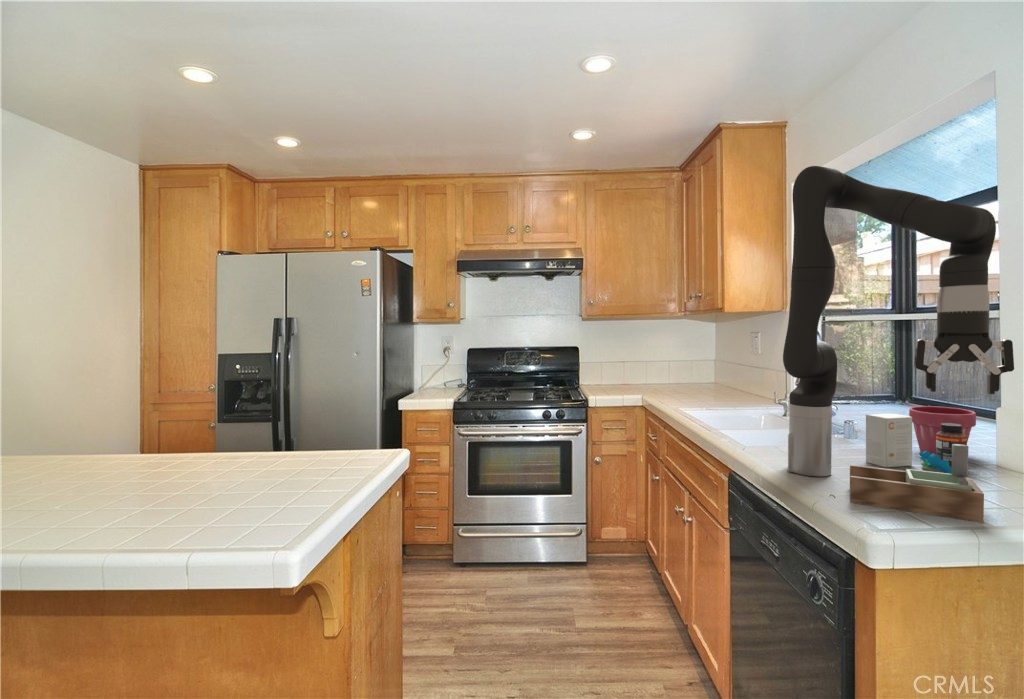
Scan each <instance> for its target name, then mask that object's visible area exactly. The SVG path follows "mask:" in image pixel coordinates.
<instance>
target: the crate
mask: <svg viewBox="0 0 1024 699" xmlns="http://www.w3.org/2000/svg"><path fill="white" fill-rule="evenodd" d="M905 471H906V483H913V484H921V485H929V486H937V487H945V488H953V489H961V490H969V491H972V485H971V484H970V483H969V481H968V480H967V479H966V478H969V445H968V444H967V445H961V444H952V474H948V473H939V472H930V471H922V469H921V470H919V469H912V468H911V469H910V468H905ZM965 477H966V478H965Z"/></svg>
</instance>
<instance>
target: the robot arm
mask: <svg viewBox="0 0 1024 699" xmlns="http://www.w3.org/2000/svg"><path fill="white" fill-rule="evenodd" d="M792 186H793V187H792V212H793V246H792V248H793V250H792V252H793V253H792V263H791V273H790V274H791V275H790V276H791V277H790V299H789V310H788V312H789V313H788V323H787V329H786V334H785V340H784V345H783V351H782V352H783V353H782V362H783V367H784V369H785V371H786V372H787V374H789V375H790V376H791V377H793V378H796V379H799V382H798V384H797V386H796V387H795V388H794V389H793V390H792V391H791V392H789V397H788V398H789V401H788V403H789V404H788V409H789V410H788V414H789V415H788V418H789V420H788V422H789V423H788V430H789V431H788V435H787V472H790V473H795V474H799V475H801V476H808V477H828V476H831V475H832V468H833V467H832V466H833V465H832V452H833V449H832V448H833V446H832V442H833V441H832V438H833V437H832V434H833V433H832V432H833V431H832V430H833V427H832V426H833V418H832V417H833V415H832V414H833V408H832V407H833V406H832V405H833V399H834V397H835V395H836V390H837V381H838V380H837V377H838V358H837V353H836V351H835V349H834V347H833V346H832V345H831V344H829V343H828V342H827V341H822V340H818V328H819V323H820V319H821V316H822V314H823V312H824V310H825V308H826V306H827V304H828V303H829V300H830V299H831V296H832V294H833V291H834V288H835V282H836V281H835V279H836V256H835V253H834V250H833V247H832V243H831V241H830V237H829V236H828V233H827V229H826V223H825V222H826V221H825V220H826V218H825V217H826V208H828V209H829V208H830V209H839V210H840V209H841V210H848V211H853V212H858V213H860V214H864V215H865V216H866V215H867V217H870V218H872V219H875V220H877V221H880V222H882V223H885V224H889V225H891V226H895V227H899V228H903V229H906V230H909V231H915V232H918V233H920V234H922V235H925V236H928V237H930V238H933V239H935V240H939V241H943V242H946V243H950V244H949V246H950V247H949V251H948V256H947V258H945V259H943V260H942V261H941V263H940V266H939V276H938V277H939V280H938V281H939V282H938V284H939V285H938V295H937V301H936V302H937V304H936V308H935V309H936V311H937V312H936V338H935V339H934V340H923V339H917V340H916V342H915V350H914V352H915V355H914V364H913V367H914V368H916V369H917V370H919V371H923V372H924V373H925V387H926V388H927V389H929V392H933V393H934V392H936V391H937V390H936V388H937V386H936V383H937V373H936V370H938V369H939V367H941V366H942V365H943V364H945V363H946V362H947V361H950V362H952V363H953V362H954V363H955V362H956V363H957V362H968V363H974V362H976V361H977V362H978V363H979V364H980V365H982V366H983V368H985V369H986V370H987V371H988V373H987V376H986V378H987V379H986V381H987V382H986V392H987V395H995V393H996V392H999V391H1000V382H1001V380H1000V379H1001V378H1000V377H1001V375H1002V374H1004V373H1008V372H1011V373H1012V372H1013V371H1014V370H1015V362H1014V361H1015V360H1014V347H1013V346H1014V343H1013V341H1012V340H1011V339H1006V338H1005V339H1001V340H991V338H990V335H989V334H990V291H989V259H990V257H991V254H992V250H993V247H994V242H995V240H996V233H997V231H996V230H997V223H996V220H995V216H994V215H993V214H992V212H990V211H989V210H988V209H986V208H982V207H978V206H973V205H967V204H960V203H956V202H955V203H954V202H952V201H951V202H950V201H944V200H939V199H936V198H935V197H933V196H928V195H924V194H920V193H916V192H911V191H907V190H903V189H898V188H891V187H883V186H878V185H873V184H871V183H867V182H863V181H862V180H859V179H856V178H854V177H852V176H850V175H849V174H846V173H844V172H842V171H840V170H838V169H835V168H830V167H825V166H819V165H810V166H807V167H805V168H804V169H802V170H801V171H800V172H799V173H798V175H797V176H796V178H795V179H794V183H793V185H792ZM932 346H933V347H934V348H935V349H936V350H937V352H938V353H939V354H938V355H936V356H935V357H934V358H933V360H932V361H931V362H930V363H929V364H928V365H927V364H925V363H924V362H925V352H927V351H929V350H930V349H931V347H932ZM992 346H993V347H994V348H995V350H996V351H998V352H1000V359H1001V365H996V364H995V363H994V362H993V361H992V360H991V359H990V358H989V357H988V356H987V355H986V353H987V352H988V351H989V350H990V349H991V348H992Z"/></svg>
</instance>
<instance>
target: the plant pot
mask: <svg viewBox="0 0 1024 699" xmlns="http://www.w3.org/2000/svg"><path fill="white" fill-rule="evenodd" d="M908 414H909V415H908V416H910V417H912V425H913V429H914V432H915V436H916V441H917V444H918V447H919V453H920V452H921V451H922V452H924V451H927V452H929V453H930V454H935V455H936V434H937V432H939V431H940V430H942V429H941V424H942V423H953V424H959V425H962V430H961V431H962V433H964V434H965V435H966V436H967V443H968V442H969V439H970V435H971V431H972V428H974V427H976V425H977V414H976V412H975V411H974V410H970V409H964V408H958V407H951V406H950V407H949V406H934V405H933V406H932V405H923V406H922V405H921V406H920V405H918V406H911V407H909V412H908Z"/></svg>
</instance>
